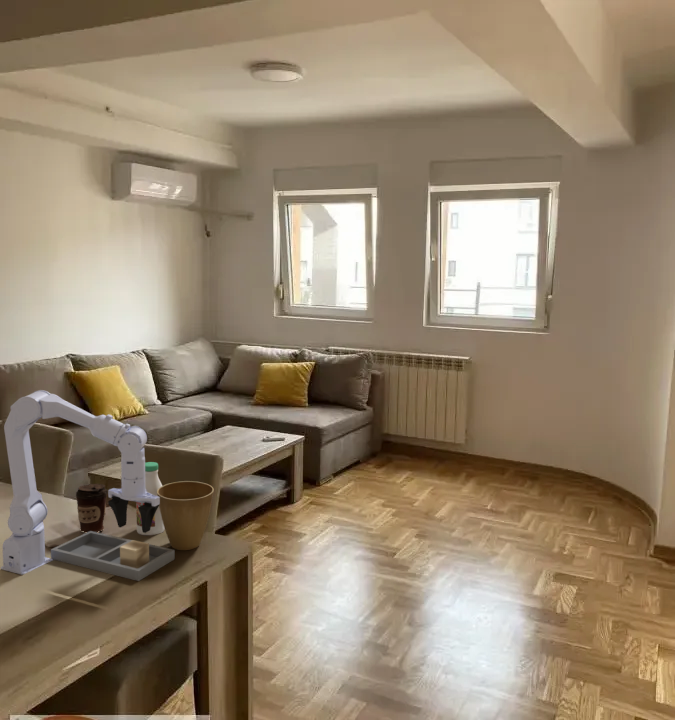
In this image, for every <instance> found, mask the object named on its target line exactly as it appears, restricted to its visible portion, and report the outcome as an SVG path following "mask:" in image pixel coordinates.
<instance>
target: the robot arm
mask: <svg viewBox="0 0 675 720" xmlns="http://www.w3.org/2000/svg"><path fill="white" fill-rule="evenodd" d="M41 418H42V420H46V419H51V418H61V419H64V420H66V421H69V422H71V423H74V424H76V425H79V426H81V427H84V428H86V429H88V430H89V432H90V433H91V435H92V436H93V437H94V438H97V439H99V440H101V441H104V442H106V443H108V444H111V445H113V446H114V447H117V448H118V451H119V452H120V455H121V459H120V466H121V467H120V468H121V471H120V472H121V479H120V481H121V488H115V487H113V488H109V489H107V497H108V498H110V499H111V500H109V501H108V503H107V504H108V506H109V507H110V508H111V510H112V512H113V515H114V517H115V520H116V523H117V527H118V528H123V527H124V526H126V525H127V520H128V519H127V517H128V516H127V515H128V514H127V513H128V510H127V509H128V506H129V501H131V502H135V503H136V502H140V503H144V505H142V506H140V507H138V509H139V512H140V515H141V520H142V531H143V533H146V532H148V531H150V528H151V524H152V520H153V517H154V515H155V512H156V510H157V509H158V507H159V504H160V497H158V496H155V495H153V494H150V493H148V492H147V490H146V489H145V463H146V457H145V454H146V453H145V447H144V446H146V444H147V441H148V435H147V433H146V431H145V430H144V429H143V428H142V427H140V426H139V425H132V426H131V424H129V423H123V422H121V421H119V420H117V419H114V416H113V415H111V414H109V413H108V414H107V415H105V414H100V415H94V414H92V413H90V412H88V411H86V410H84V409H83V408H81V407H78V406H77V405H74V404H73V403H71V402H69V401H66V400H65V399H63V398H62V397H60V396H59V395H57V394H55V393H50V392H49V391H47V390H43V389H39V390H34V391H33V392H31V393H30V394H27V395H26V396H21V397H19V398H18V399H17V400H16V401H15V402H14V403H12V404H11V405H10V411H9V414H8V416H7V418H6V420H5V423H4V427H3V429H4V430H3V431H4V435H5V436H4V437H5V444H6V451H7V459H8V465H9V466H8V467H9V472H10V479H11V480H10V481H11V487H12V493H13V494H12V495H13V497H12V500H11V503H10V506H9V516H8V519H7V527H8V529H9V530H10V531H11V532H12V533H11V535H10V536H9V537H8V538H6V539H5V540H4V541H3V542H2V564H3V565H2V566H1V567H0V569H1V570H3V571H7V572H11V573H14V574H18V575H22V576H23V575H26V574H27V573H30V572H32V571H34V570H36V569H38V568H40V567H42V566H44V565H46V564H48V563H50V562H52V561H54V560H53V559H51V557H47V556H46V545H45V544H46V540H45V539H46V537H45V524H44V520H45V519H46V518H47V516H48V513H49V512H48V511H49V509H48V506H47V505H46V503H45V502H44V500H43V496H42V493H40V491H38V490H37V482H36V481H37V480H36V476H35V468H34V461H33V454H32V453H33V452H32V446H31V439H30V429H31V428H32V427H33V426H34V425H35V423H36V422H38V420H39V419H41Z"/></svg>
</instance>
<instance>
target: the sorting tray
mask: <svg viewBox="0 0 675 720" xmlns="http://www.w3.org/2000/svg"><path fill="white" fill-rule="evenodd" d="M133 540H134V539H128V538H123V537H120V536H119V537H118V536H114V535H110V534H106V533H105V534H104V533H102V532H99V533H97V532H93V531H89V532H87V533H82V534H81V535H79V536H76V537H75V538H73V539H70V540H68V541H65V542H64V543H62V544H60V545H57V546H55V547H53V548H51V549H50V558H51V559H53V560H52V561H58V562H62V563H65V564H69V565H73V566H78V567H82V568H84V569H89V570H94V571H97V572H102V573H105V574H109V575H112V576H117V577H122V578H125V579H129V580H133V581H136V582H140V581H142V580H143V579H145V578H146V577H148V576H149V575H151V574H154V572H156V571H158V570H159V569H161V568H162V567H165V566H166V565H168V564H169V563H171V562H172V561H174V560H175V555H176V554H175V551H176V549H174V548H168V547H164V546H163V547H162V546H159V545H155V544H150V543H148V544H149V562H148V563H147V564H145V565H143V566H142V567H140V568H138V569H137V568H133V567H129V566H125V565H121V564H120V547H121V546H123V545H125V544H127V543H129V542H131V541H133Z"/></svg>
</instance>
